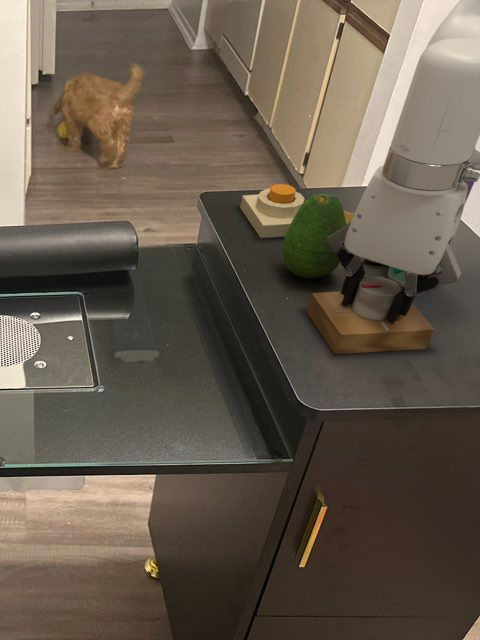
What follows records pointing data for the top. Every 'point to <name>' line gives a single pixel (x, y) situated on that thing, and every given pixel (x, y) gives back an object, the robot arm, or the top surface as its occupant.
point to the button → (282, 194)
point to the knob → (375, 297)
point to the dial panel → (365, 327)
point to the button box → (270, 213)
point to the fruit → (313, 237)
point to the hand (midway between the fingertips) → (372, 307)
